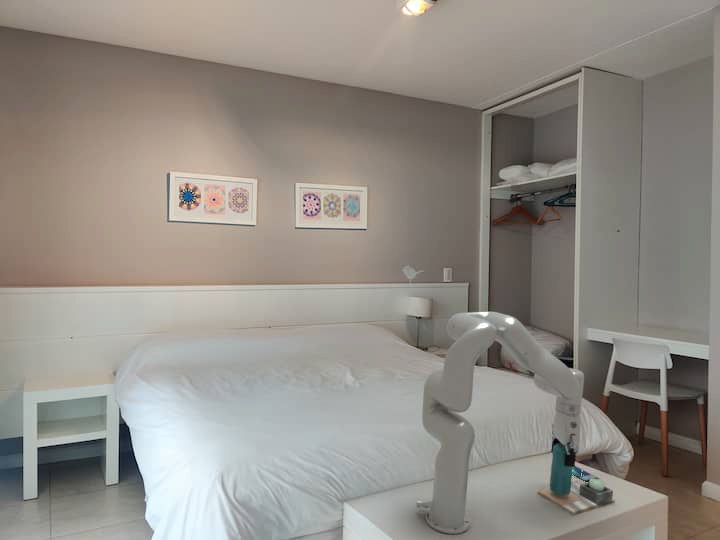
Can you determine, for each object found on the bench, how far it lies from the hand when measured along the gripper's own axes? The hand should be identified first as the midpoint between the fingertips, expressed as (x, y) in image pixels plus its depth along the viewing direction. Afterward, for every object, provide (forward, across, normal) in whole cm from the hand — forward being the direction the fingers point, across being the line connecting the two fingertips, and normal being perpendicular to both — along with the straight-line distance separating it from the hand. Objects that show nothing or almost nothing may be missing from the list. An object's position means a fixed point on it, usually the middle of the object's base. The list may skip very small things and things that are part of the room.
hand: (562, 459), depth 166 cm
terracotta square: (+13, 0, 0) cm, 13 cm away
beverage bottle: (+12, 0, 0) cm, 12 cm away
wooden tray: (+13, +1, -6) cm, 14 cm away
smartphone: (+13, +20, -15) cm, 28 cm away
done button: (+10, 0, -12) cm, 16 cm away
